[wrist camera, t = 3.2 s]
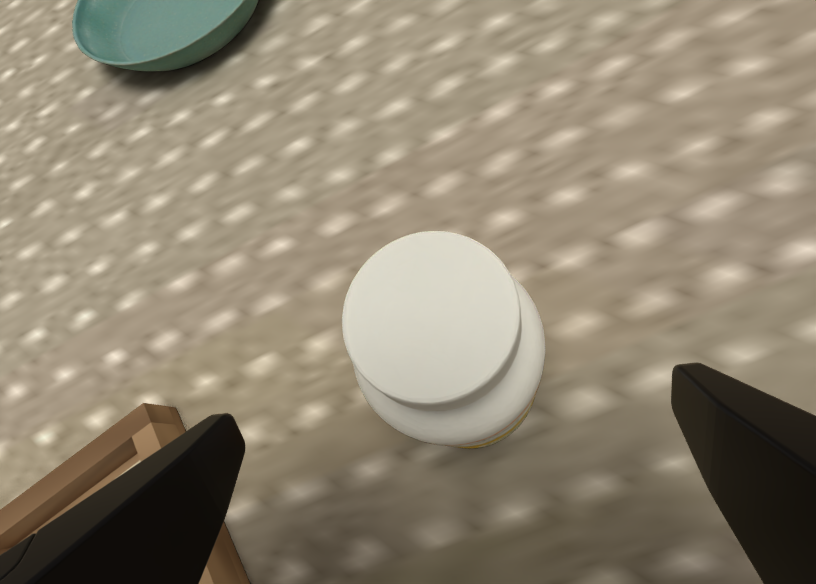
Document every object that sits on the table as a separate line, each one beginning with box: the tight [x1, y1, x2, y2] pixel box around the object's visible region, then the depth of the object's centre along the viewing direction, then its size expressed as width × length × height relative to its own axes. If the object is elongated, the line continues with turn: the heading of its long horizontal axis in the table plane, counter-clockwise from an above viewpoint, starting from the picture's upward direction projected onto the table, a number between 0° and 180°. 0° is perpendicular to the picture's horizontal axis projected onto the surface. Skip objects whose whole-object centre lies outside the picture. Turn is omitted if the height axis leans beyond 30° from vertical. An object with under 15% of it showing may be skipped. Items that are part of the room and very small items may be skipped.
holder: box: [0, 403, 250, 584], centre depth 18 cm, size 10×10×2 cm
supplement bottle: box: [342, 231, 545, 448], centre depth 14 cm, size 5×5×10 cm
